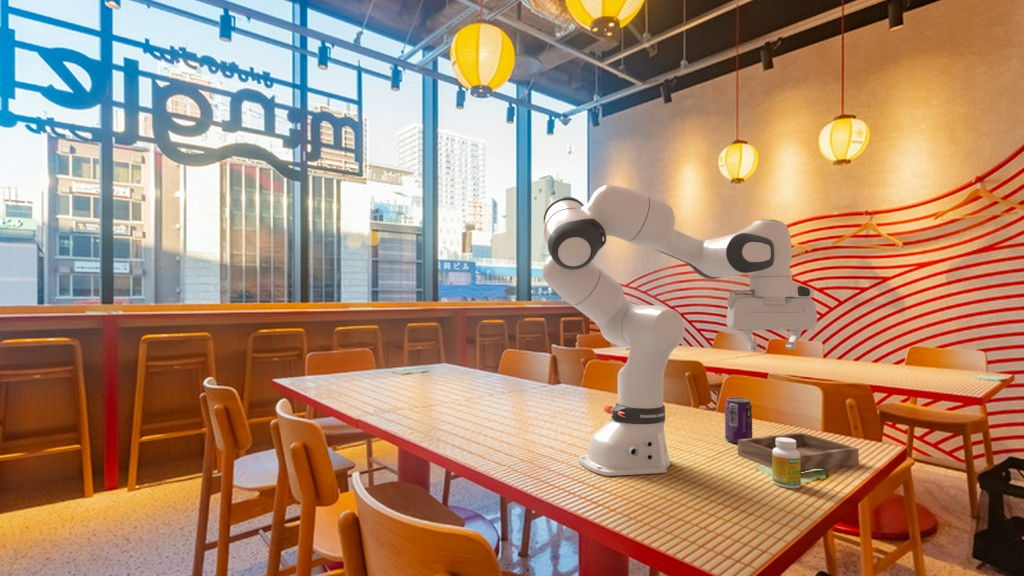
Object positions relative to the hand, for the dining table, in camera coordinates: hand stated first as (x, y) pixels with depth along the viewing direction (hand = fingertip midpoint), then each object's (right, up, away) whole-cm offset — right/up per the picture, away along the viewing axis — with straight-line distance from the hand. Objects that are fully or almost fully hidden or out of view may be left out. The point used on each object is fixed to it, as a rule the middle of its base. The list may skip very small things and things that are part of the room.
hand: (771, 349), depth 115 cm
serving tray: (+12, -29, +10) cm, 33 cm away
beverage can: (+5, -30, +27) cm, 40 cm away
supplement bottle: (0, -29, -7) cm, 30 cm away
